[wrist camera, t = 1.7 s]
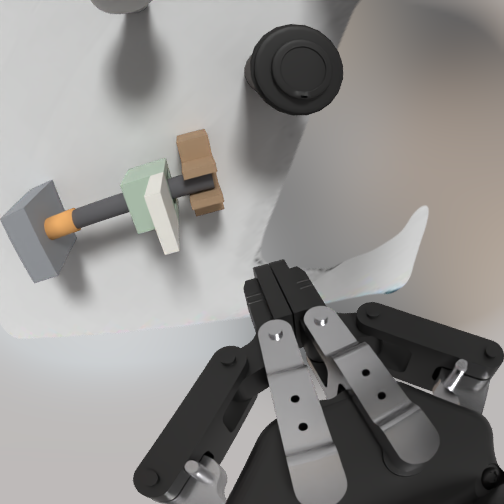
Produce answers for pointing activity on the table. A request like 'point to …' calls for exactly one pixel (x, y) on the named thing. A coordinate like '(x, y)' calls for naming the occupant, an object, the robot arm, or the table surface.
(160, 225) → the white-faced green block
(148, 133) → the table surface
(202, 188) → the rod rig
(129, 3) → the lightbulb
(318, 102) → the coffee cup
